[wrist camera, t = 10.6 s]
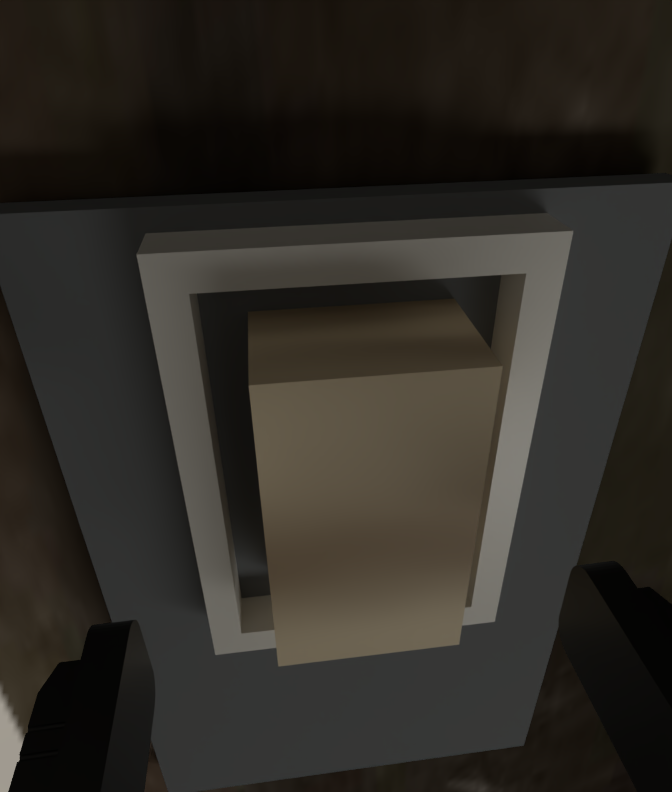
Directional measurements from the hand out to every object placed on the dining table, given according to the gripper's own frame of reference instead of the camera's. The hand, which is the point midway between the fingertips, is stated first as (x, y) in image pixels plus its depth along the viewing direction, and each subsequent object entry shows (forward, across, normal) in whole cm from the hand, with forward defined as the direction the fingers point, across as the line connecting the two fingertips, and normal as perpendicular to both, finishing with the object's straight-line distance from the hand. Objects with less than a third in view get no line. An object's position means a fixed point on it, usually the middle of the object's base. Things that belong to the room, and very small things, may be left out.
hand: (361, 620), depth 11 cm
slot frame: (+6, -1, 0) cm, 6 cm away
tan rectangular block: (+5, -1, 0) cm, 5 cm away
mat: (+6, -1, +4) cm, 7 cm away
